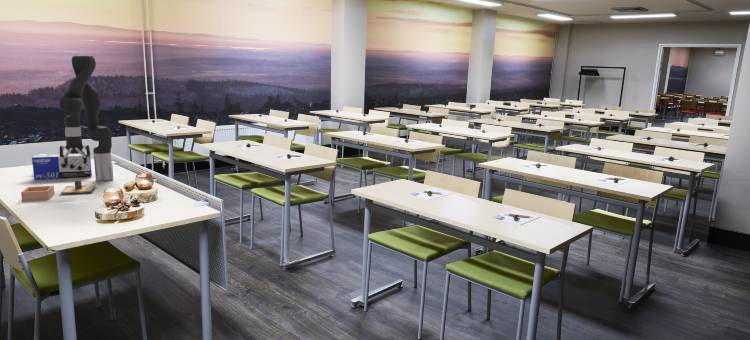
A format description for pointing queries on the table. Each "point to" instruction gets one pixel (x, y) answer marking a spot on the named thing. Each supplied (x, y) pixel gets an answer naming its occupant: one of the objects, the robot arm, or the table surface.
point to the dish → (37, 193)
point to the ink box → (60, 167)
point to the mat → (79, 193)
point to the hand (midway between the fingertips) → (76, 164)
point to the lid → (78, 188)
